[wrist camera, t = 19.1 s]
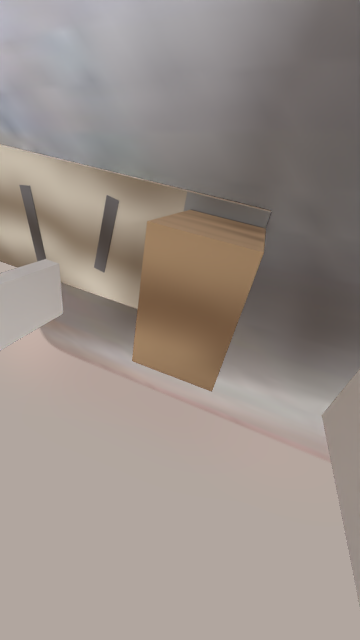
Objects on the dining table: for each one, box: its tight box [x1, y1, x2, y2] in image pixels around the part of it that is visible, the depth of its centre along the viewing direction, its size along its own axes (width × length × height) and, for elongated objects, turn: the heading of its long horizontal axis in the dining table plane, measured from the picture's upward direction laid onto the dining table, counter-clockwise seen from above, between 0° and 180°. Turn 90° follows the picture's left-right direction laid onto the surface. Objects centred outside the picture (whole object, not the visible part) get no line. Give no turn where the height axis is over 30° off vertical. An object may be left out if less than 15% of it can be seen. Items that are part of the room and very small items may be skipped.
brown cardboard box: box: [132, 209, 266, 391], centre depth 15 cm, size 8×5×7 cm, turn 169°
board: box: [0, 144, 271, 309], centre depth 20 cm, size 10×24×2 cm, turn 78°
